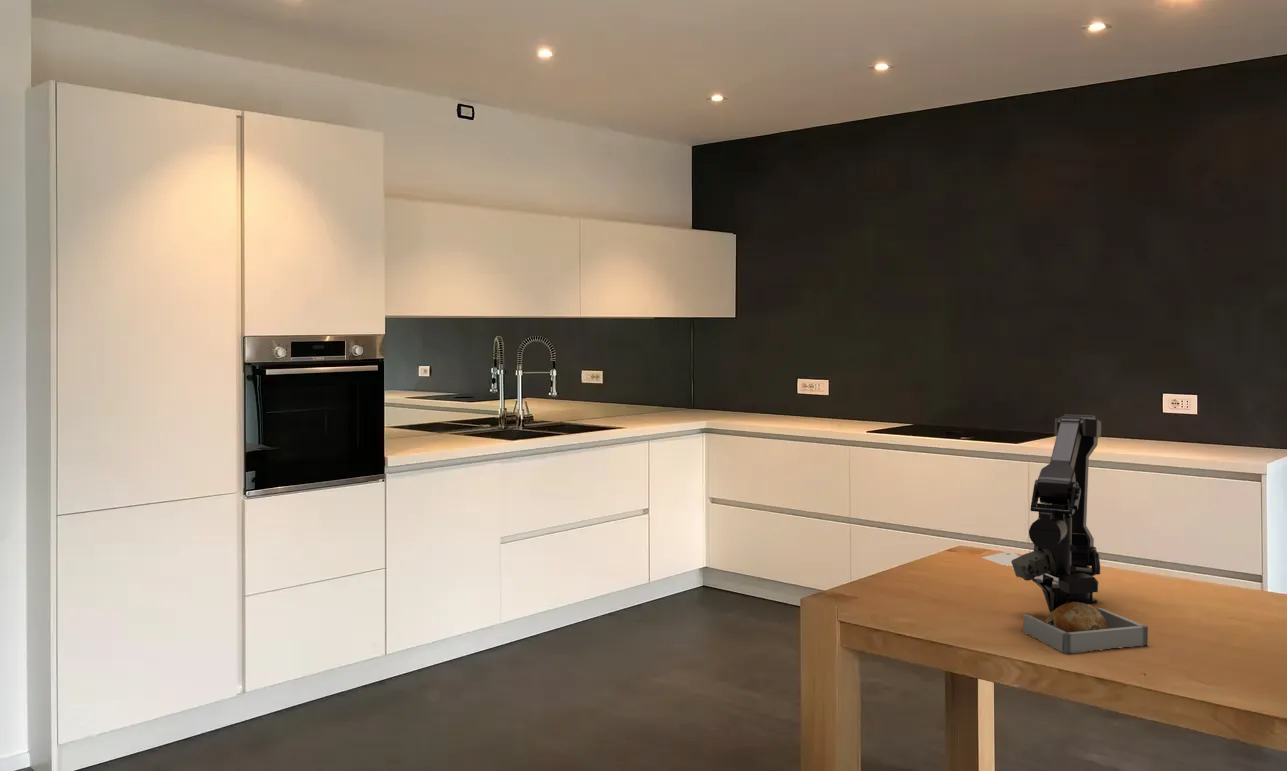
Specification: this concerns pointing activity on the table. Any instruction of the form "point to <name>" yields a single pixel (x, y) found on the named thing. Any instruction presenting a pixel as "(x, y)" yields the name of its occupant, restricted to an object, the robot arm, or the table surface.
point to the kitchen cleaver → (1002, 558)
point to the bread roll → (1076, 618)
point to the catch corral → (1089, 634)
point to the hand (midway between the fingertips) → (1054, 617)
